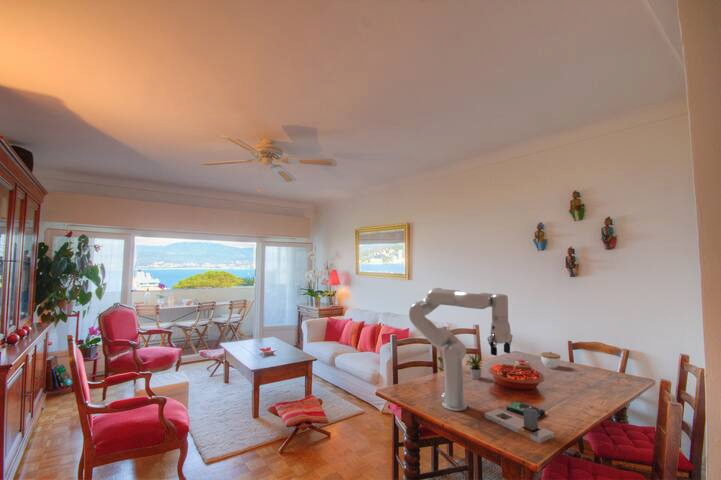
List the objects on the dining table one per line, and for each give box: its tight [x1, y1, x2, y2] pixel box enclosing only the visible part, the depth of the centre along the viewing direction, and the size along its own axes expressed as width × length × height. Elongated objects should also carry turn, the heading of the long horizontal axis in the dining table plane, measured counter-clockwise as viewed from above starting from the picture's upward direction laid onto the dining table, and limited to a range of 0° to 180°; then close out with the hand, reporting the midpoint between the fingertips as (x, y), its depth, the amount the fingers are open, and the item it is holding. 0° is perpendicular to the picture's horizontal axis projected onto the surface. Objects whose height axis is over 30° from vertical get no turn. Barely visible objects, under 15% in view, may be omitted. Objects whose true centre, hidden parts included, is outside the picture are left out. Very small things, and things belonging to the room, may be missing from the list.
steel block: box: [523, 407, 539, 433], centre depth 151 cm, size 4×4×10 cm
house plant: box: [465, 352, 484, 380], centre depth 226 cm, size 14×14×16 cm
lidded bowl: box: [540, 351, 561, 370], centre depth 248 cm, size 13×13×11 cm
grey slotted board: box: [484, 408, 555, 444], centre depth 156 cm, size 28×10×2 cm, turn 30°
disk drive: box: [505, 401, 546, 420], centre depth 172 cm, size 10×3×15 cm
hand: (500, 353), depth 170 cm, fingers open, 9 cm apart
